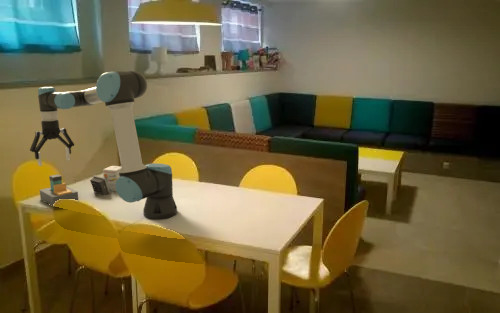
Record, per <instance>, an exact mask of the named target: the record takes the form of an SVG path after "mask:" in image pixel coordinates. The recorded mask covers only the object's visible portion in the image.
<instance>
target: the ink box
mask: <svg viewBox="0 0 500 313" xmlns="http://www.w3.org/2000/svg"><path fill="white" fill-rule="evenodd" d="M121 167H122V166H121V165H120V166H119V165H111V166H108V167H106V168H103V169H102V173H103V176H102V177H104V178H106V180H107V183H108V186H109V189H110V192H111V191H112V192H117V191H116V187H115V183H116V180H117V179H118V178H119V177H120V176H119V171H120V169H121Z"/></svg>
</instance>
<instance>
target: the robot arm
mask: <svg viewBox="0 0 500 313" xmlns="http://www.w3.org/2000/svg"><path fill="white" fill-rule="evenodd" d="M147 89H148V82H147V79H146V77H145V76H144V75H143V74H142V73H140V72H138V71H133V70H127V71H124V70H123V71H122V70H121V71H118V70H117V71H108V72H104V73H102V74H101V75H100V76H99V77H98V79H97V81H96V85H95V86H94V87H90V88H87V89H83V90H73V91H56V88H55V87H54V86H43V87H39V88H37V99H38V105H39V114H40V120H41V121H40V122H41V123H40V124H41V131H37V130H36V131H34V138H33V141H32V144H31V145H30V146H31V147H30V148H29V151H30V152H32V153H34V158H35V160H37V165H38V166H39V167H42V166H43V163H42V155H41V152H40V150H41V149H42V148H43V146H44V145H45V143H46V142H48V140H56V139H57V140H59V141H60V142H61V143H62V144H63V145H64V146H65V148H64V150H65V161H67V162H71V157H70V155H71V154H72V147H74V146H75V143H74V141H73V140H72V139H71V137H70V135H69V133H68V131H67V129H66V128H64V127H62V128H60V124H59V122H60V121H59V114H58V110H60V109H61V110H69V109H72V108H78V107H79V108H80V107H90V106H94V105H96V104H100V103H104V104H105V105H104V106H105V107H106V109H108V110H109V111H110V114H111V119H112V125H113V131H114V135H115V141H116V146H117V150H118V155H119V161H120V167H121V169H120V171H119V176H120V177H119V178H118V179H117V180H116V183H115V187H116V191H115V192H116V193H117V195H118V196H119V198H121V199H122V200H123V201H124V202H126V203H135V202H140V201H141V200H144V199H145V203H144V207H143V212H142V213H143V216H144V217H145V218H147V219H150V220H151V219H152V220H164V219H169V218H172V217H174V216H176V215H177V213H178V207H177V204H176V201H175V199H174V193H173V192H174V191H173V171H172V167H171V165H169V164H167V163H166V164H164V163H157V162H156V163H154V162H153V163H147V164H144V163H143V160H142V155H141V150H140V149H141V148H140V144H139V139H138V133H137V128H136V122H135V117H134V113H133V106H134V104H135V103H136V102H135V99H138V98H141V97H142V96H144V95H145V93H146V92H147ZM60 133H61V134H62V135H63V136H64V138H65V139H64V138H63V137H62V136H61V135H60ZM41 136H42V137H41ZM40 138H41V140H40V141H39V139H40Z"/></svg>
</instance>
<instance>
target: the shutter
mask: <svg viewBox="0 0 500 313" xmlns="http://www.w3.org/2000/svg"><path fill="white" fill-rule="evenodd" d="M66 186H67V183H66V182H62V184H57V185H54V191H53V193H55V194H56V195H58V196H61V195H65V194H69V193H72V191H70V190H68V189H66Z"/></svg>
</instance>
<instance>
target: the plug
mask: <svg viewBox="0 0 500 313" xmlns="http://www.w3.org/2000/svg"><path fill="white" fill-rule="evenodd" d="M49 183H50V184H49V185H50V188H51V191H52V192H53V191H54V185H57V184H62V183H63V178H62V175H60V174H59V173H58V174H51V175H49Z"/></svg>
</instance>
